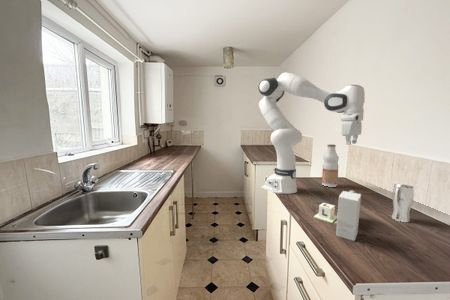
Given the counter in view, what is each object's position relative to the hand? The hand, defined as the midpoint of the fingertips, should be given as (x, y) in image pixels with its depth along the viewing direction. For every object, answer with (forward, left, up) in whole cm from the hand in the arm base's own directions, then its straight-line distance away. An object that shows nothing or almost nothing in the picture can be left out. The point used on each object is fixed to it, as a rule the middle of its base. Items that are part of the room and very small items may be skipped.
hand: (351, 144), depth 111 cm
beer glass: (+23, -7, -31) cm, 39 cm away
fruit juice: (-18, +23, -31) cm, 43 cm away
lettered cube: (-1, -28, -31) cm, 41 cm away
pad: (-1, -28, -31) cm, 42 cm away
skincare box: (+11, -37, -31) cm, 50 cm away
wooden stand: (+7, -26, -31) cm, 41 cm away
